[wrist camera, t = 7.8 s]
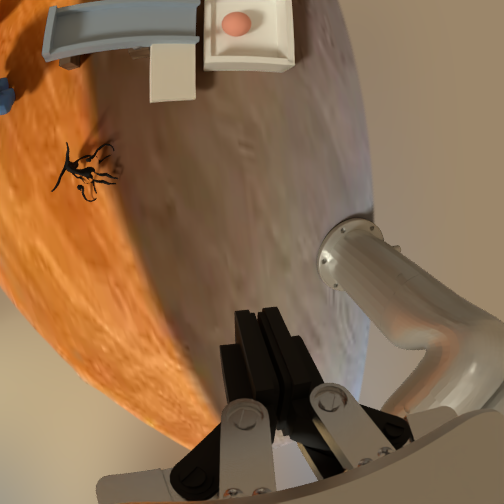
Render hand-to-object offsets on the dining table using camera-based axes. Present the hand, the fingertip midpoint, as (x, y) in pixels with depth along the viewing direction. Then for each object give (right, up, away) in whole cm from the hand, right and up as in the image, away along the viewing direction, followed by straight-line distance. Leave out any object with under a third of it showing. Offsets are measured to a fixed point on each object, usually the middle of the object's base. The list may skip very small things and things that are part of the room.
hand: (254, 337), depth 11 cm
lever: (-14, +25, +10) cm, 31 cm away
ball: (-2, +30, +13) cm, 33 cm away
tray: (-1, +31, +15) cm, 35 cm away
